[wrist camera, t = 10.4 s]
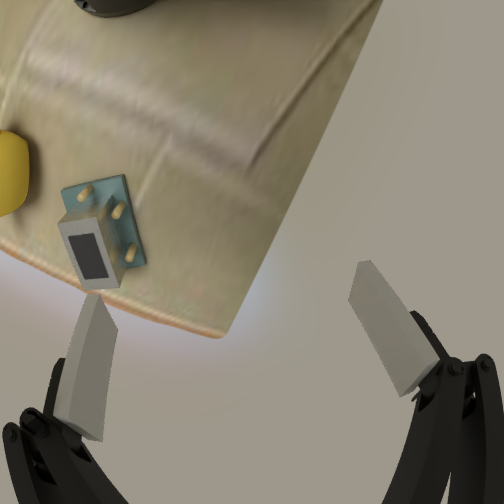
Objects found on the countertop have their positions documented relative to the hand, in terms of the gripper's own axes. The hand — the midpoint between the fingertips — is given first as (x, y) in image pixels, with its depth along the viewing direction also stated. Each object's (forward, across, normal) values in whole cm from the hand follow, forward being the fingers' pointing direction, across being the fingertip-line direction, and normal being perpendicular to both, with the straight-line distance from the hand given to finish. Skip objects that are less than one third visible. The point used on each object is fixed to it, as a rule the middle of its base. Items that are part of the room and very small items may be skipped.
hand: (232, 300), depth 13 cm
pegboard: (+27, -18, -8) cm, 33 cm away
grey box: (+26, -18, -8) cm, 32 cm away
